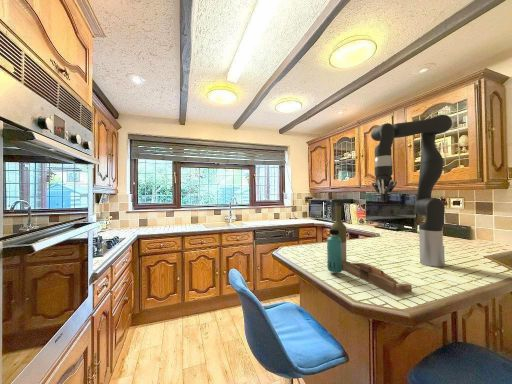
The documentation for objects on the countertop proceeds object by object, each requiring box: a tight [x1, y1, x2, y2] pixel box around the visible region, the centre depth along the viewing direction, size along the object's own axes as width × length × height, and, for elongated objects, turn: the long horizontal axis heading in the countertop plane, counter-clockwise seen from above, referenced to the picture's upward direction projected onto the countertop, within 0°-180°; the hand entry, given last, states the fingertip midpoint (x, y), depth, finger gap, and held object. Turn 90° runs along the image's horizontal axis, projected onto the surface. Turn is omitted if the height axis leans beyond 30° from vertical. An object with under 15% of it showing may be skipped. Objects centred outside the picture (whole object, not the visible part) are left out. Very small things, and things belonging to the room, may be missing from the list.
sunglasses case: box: [357, 262, 400, 285], centre depth 94 cm, size 18×7×7 cm
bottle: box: [330, 205, 347, 269], centre depth 108 cm, size 7×7×30 cm
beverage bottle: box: [326, 228, 343, 274], centre depth 98 cm, size 6×7×20 cm
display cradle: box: [342, 260, 413, 296], centre depth 91 cm, size 8×28×6 cm, turn 14°
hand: (384, 201), depth 105 cm, fingers closed
